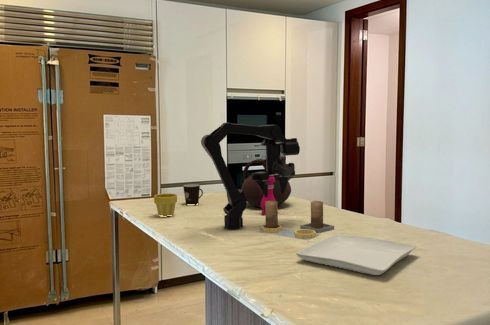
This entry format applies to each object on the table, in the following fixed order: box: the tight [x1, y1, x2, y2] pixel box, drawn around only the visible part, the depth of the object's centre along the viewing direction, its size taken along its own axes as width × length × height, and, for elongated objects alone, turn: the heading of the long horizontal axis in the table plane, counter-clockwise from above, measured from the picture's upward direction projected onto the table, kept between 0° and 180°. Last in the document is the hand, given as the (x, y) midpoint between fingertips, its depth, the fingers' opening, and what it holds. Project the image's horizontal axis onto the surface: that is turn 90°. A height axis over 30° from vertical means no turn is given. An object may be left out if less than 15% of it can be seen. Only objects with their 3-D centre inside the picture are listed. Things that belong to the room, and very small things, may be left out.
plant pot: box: [153, 192, 178, 216], centre depth 197 cm, size 10×10×10 cm
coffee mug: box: [182, 183, 204, 205], centre depth 223 cm, size 12×9×10 cm
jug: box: [241, 155, 292, 208], centre depth 216 cm, size 25×25×25 cm
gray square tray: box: [299, 222, 335, 234], centre depth 163 cm, size 9×9×2 cm
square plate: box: [295, 233, 417, 276], centre depth 131 cm, size 27×27×4 cm
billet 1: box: [264, 200, 279, 228], centre depth 162 cm, size 5×5×11 cm
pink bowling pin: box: [260, 177, 276, 216], centre depth 196 cm, size 7×7×20 cm
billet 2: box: [310, 200, 324, 229], centre depth 163 cm, size 5×5×11 cm
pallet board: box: [256, 224, 320, 243], centre depth 158 cm, size 22×9×3 cm, turn 51°
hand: (274, 195), depth 172 cm, fingers open, 9 cm apart
